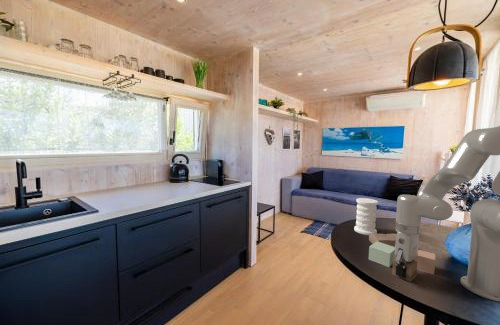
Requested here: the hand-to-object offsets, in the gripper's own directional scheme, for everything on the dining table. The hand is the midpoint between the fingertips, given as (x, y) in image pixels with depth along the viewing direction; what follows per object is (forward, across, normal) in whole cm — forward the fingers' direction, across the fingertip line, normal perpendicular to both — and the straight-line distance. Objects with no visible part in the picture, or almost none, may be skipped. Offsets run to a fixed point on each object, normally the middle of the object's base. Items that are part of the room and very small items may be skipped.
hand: (404, 273), depth 85 cm
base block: (+1, +5, +10) cm, 11 cm away
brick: (+1, +24, +15) cm, 28 cm away
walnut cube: (+1, 0, 0) cm, 1 cm away
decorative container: (+1, +31, +30) cm, 43 cm away
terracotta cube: (+1, +12, -3) cm, 12 cm away
